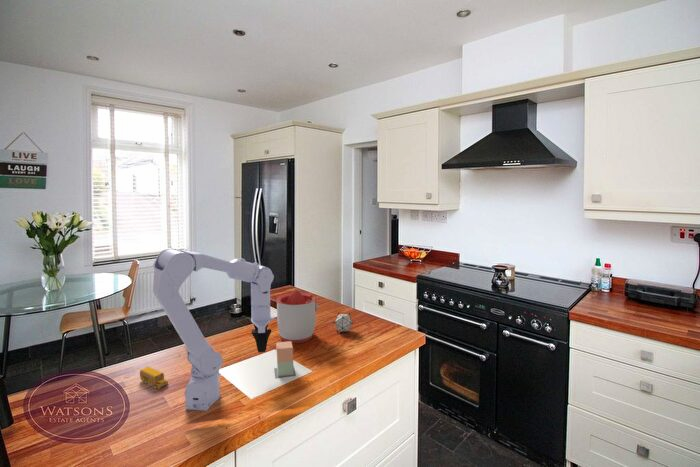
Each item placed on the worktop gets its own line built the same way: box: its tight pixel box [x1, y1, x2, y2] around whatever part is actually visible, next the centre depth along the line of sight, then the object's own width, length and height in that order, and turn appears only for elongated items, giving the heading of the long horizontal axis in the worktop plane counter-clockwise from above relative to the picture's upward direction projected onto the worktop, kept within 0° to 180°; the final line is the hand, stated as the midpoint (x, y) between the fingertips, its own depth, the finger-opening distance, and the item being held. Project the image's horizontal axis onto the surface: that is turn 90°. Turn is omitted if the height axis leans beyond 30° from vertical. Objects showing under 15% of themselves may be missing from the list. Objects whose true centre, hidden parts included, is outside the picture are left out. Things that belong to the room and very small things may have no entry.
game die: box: [332, 312, 355, 334], centre depth 148 cm, size 9×8×10 cm
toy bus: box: [139, 366, 169, 390], centre depth 107 cm, size 3×10×4 cm, turn 59°
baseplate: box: [219, 348, 313, 400], centre depth 113 cm, size 22×22×1 cm
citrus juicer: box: [275, 290, 321, 344], centre depth 139 cm, size 16×17×20 cm
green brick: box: [277, 361, 293, 377], centre depth 112 cm, size 5×5×4 cm
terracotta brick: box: [275, 341, 294, 363], centre depth 112 cm, size 5×5×4 cm
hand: (261, 346), depth 110 cm, fingers open, 7 cm apart
